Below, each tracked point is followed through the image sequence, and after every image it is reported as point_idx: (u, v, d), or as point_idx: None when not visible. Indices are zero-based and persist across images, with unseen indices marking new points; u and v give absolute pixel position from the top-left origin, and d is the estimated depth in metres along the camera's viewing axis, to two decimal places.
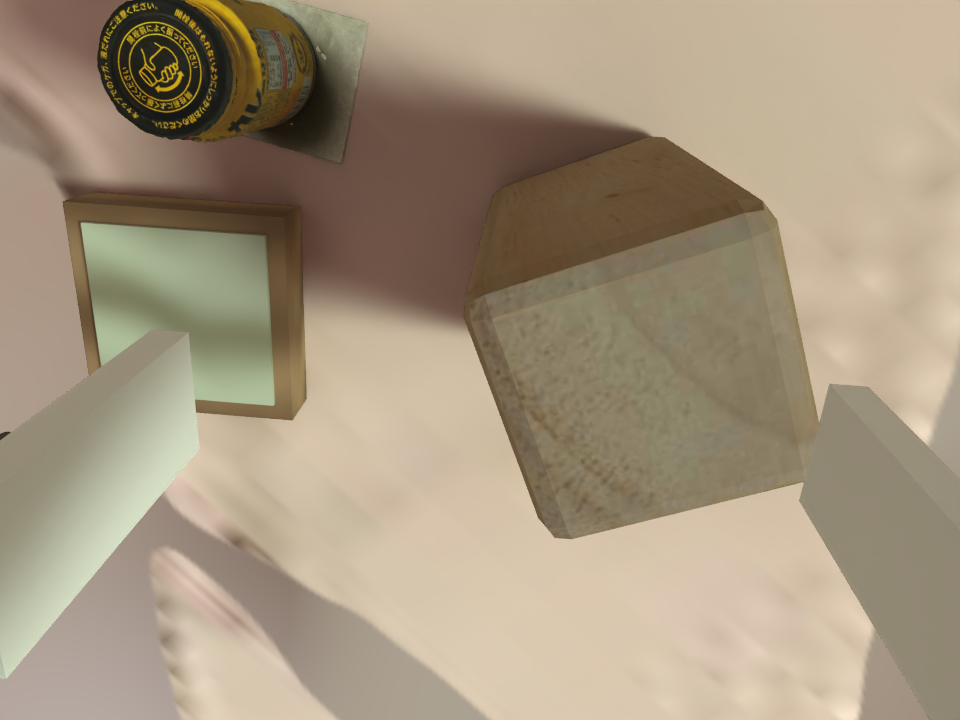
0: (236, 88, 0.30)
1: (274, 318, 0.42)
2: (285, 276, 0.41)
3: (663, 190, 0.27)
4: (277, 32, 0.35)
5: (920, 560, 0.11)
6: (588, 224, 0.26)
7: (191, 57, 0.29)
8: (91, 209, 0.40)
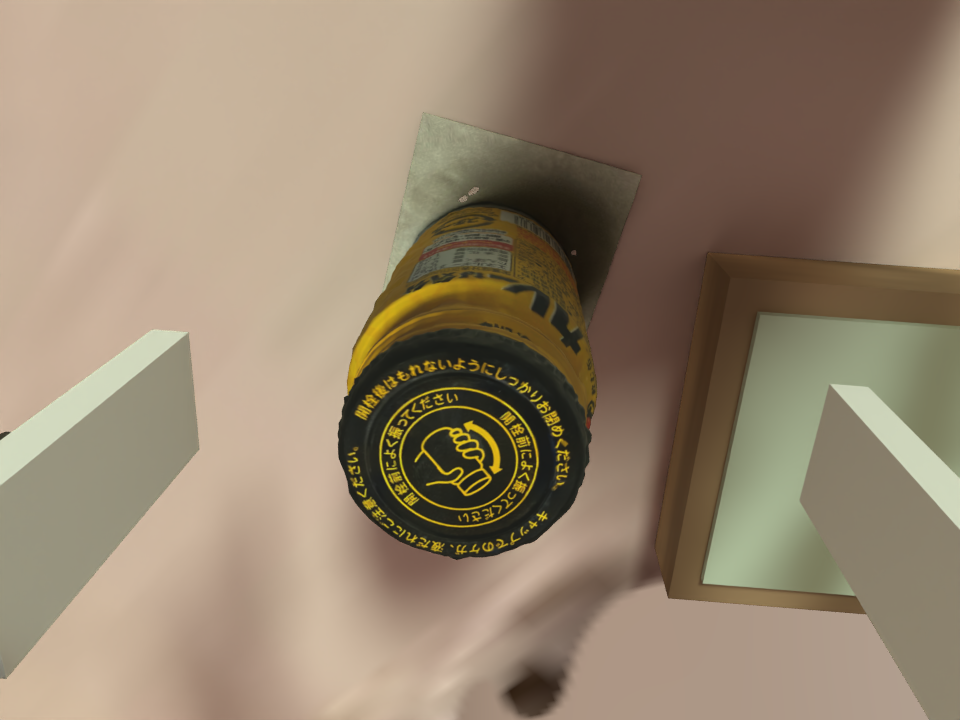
0: (500, 326, 0.16)
1: (916, 315, 0.23)
2: (838, 287, 0.23)
3: None
4: (424, 251, 0.21)
5: (920, 560, 0.11)
6: None
7: (438, 402, 0.15)
8: (684, 564, 0.27)
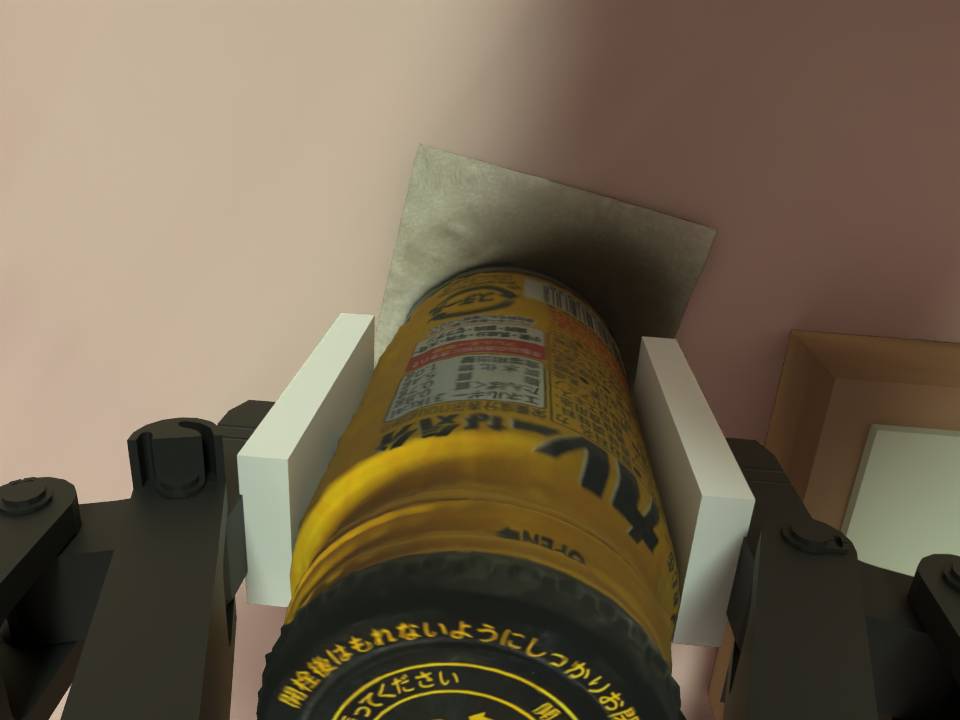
0: (533, 534, 0.09)
1: None
2: None
3: None
4: (416, 352, 0.14)
5: (667, 474, 0.13)
6: None
7: (424, 683, 0.08)
8: None
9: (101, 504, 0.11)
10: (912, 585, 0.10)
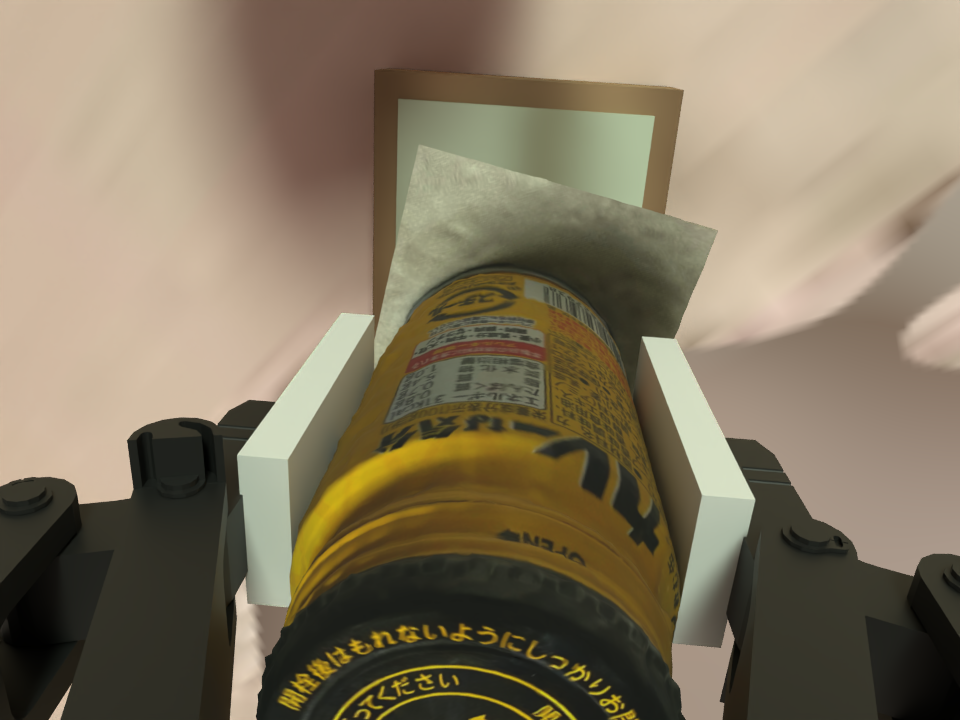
0: (534, 536, 0.09)
1: (519, 100, 0.30)
2: (456, 77, 0.29)
3: None
4: (415, 353, 0.14)
5: (667, 474, 0.13)
6: None
7: (424, 686, 0.08)
8: None
9: (101, 504, 0.11)
10: (912, 585, 0.10)
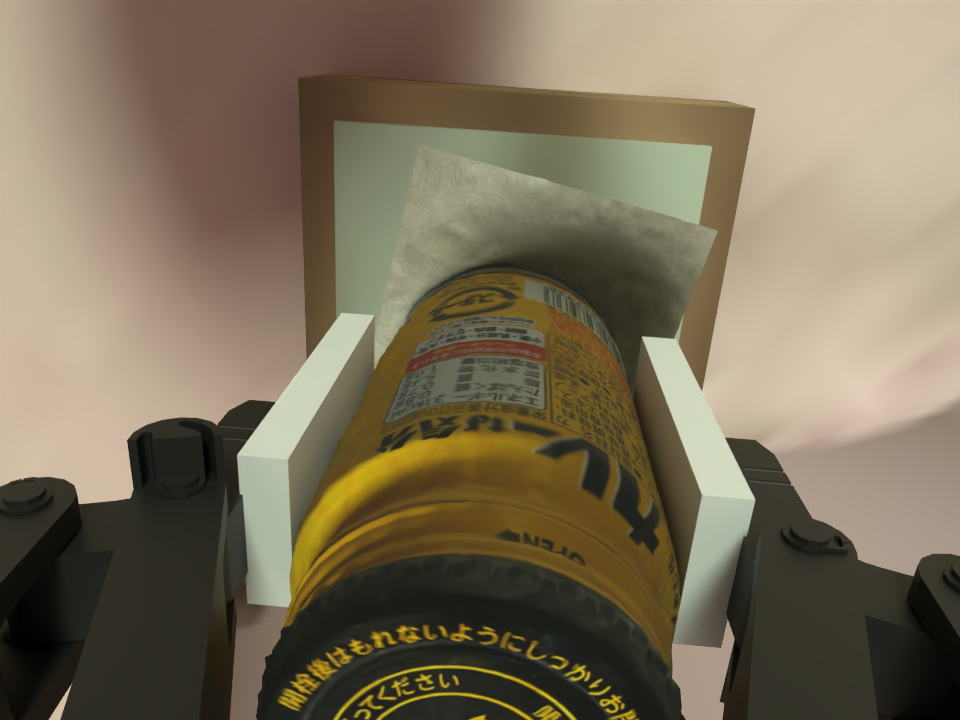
0: (534, 536, 0.09)
1: (511, 123, 0.20)
2: (419, 88, 0.20)
3: None
4: (415, 353, 0.14)
5: (667, 474, 0.13)
6: None
7: (424, 686, 0.08)
8: None
9: (101, 504, 0.11)
10: (911, 585, 0.10)
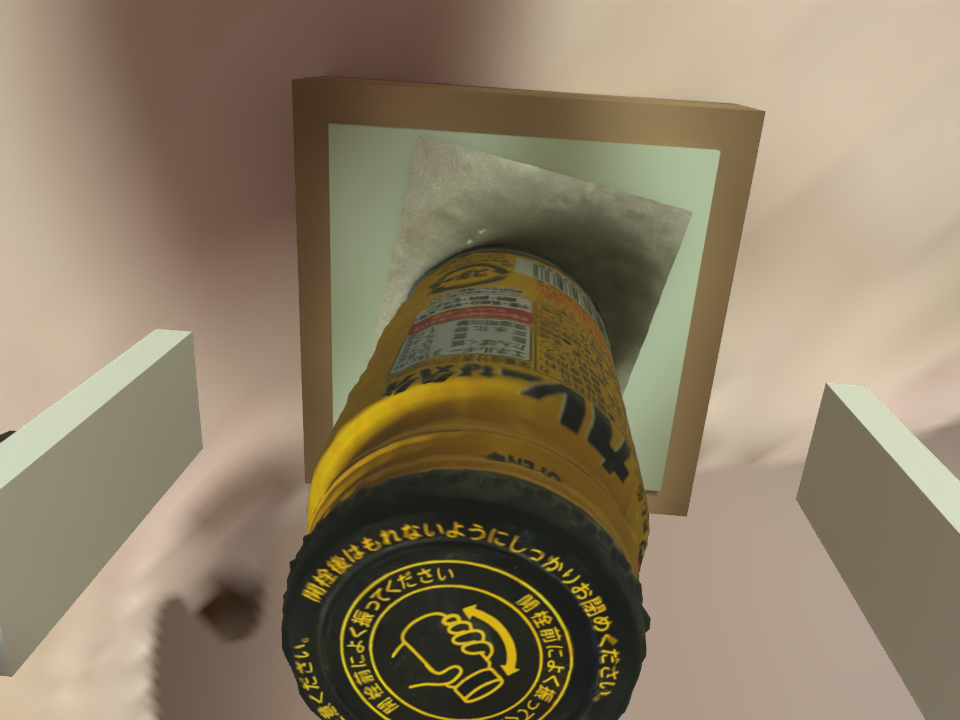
0: (518, 457, 0.11)
1: (512, 126, 0.19)
2: (417, 90, 0.19)
3: None
4: (417, 319, 0.16)
5: (915, 558, 0.11)
6: None
7: (424, 579, 0.10)
8: (314, 441, 0.23)
9: None
10: None
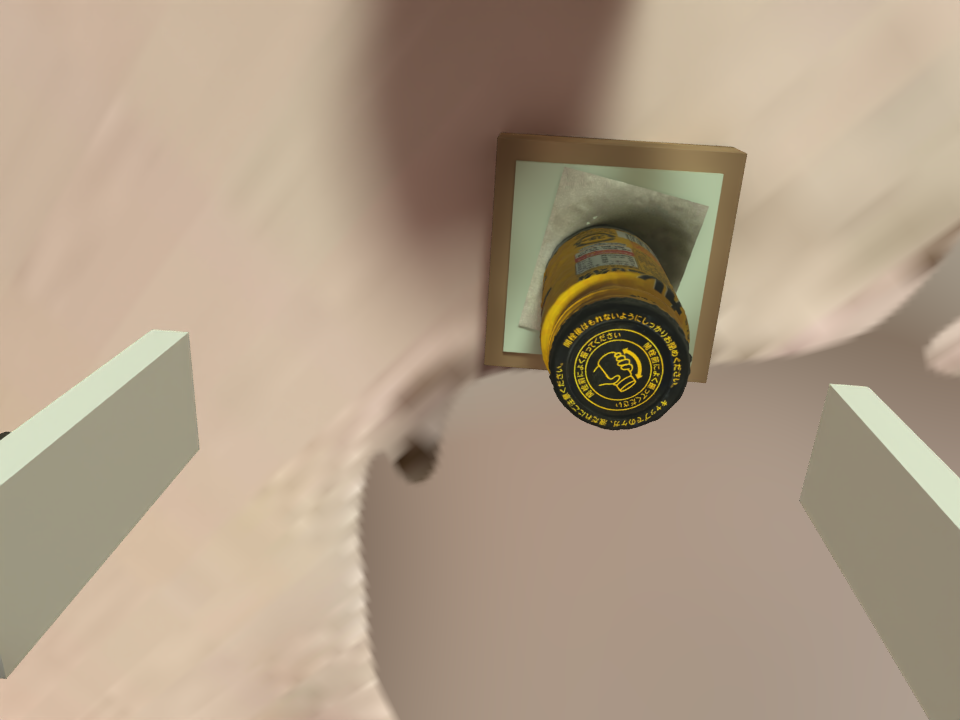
0: (641, 297, 0.28)
1: (613, 161, 0.37)
2: (563, 143, 0.37)
3: None
4: (576, 256, 0.33)
5: (920, 560, 0.11)
6: None
7: (609, 337, 0.27)
8: (491, 339, 0.41)
9: None
10: None
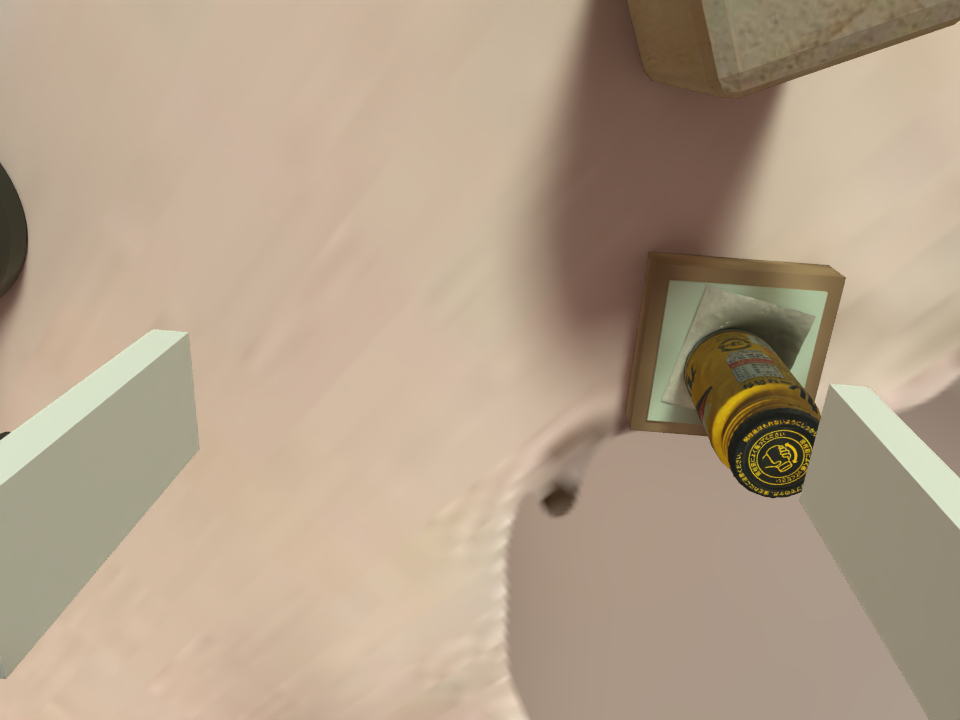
0: (795, 405, 0.40)
1: (743, 281, 0.48)
2: (706, 268, 0.48)
3: None
4: (728, 362, 0.45)
5: (920, 560, 0.11)
6: None
7: (776, 435, 0.39)
8: (637, 410, 0.52)
9: None
10: None
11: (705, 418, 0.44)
